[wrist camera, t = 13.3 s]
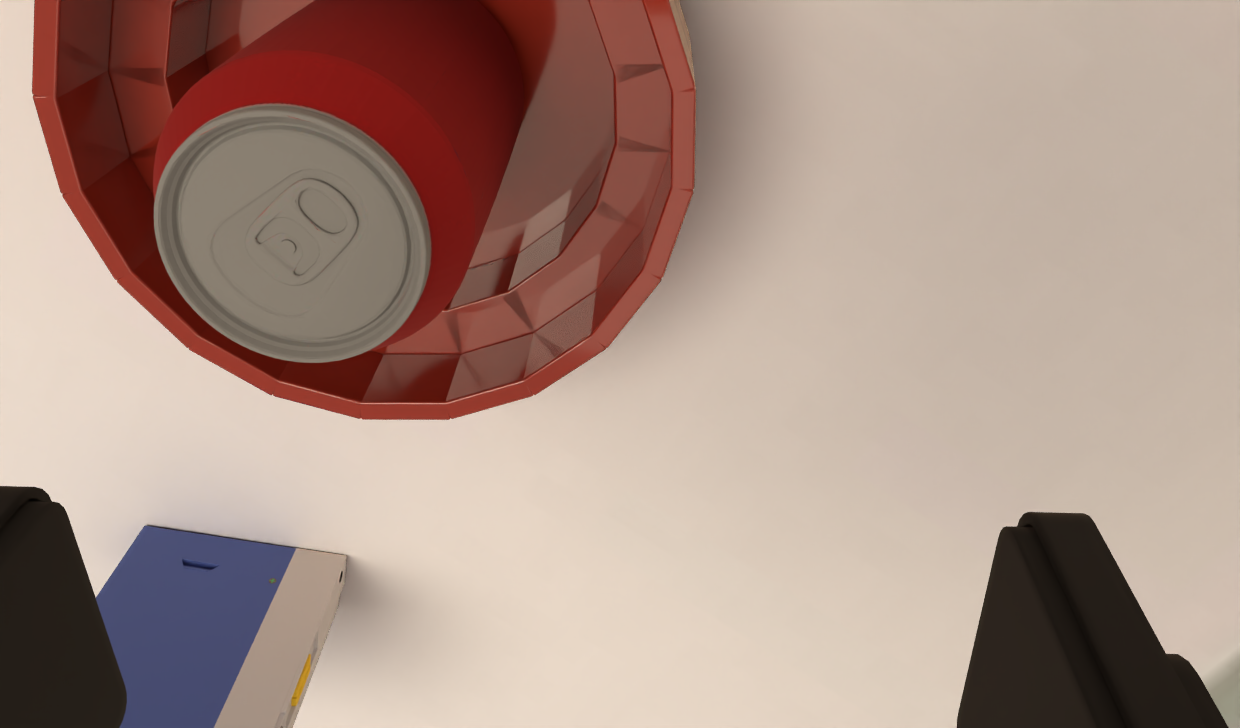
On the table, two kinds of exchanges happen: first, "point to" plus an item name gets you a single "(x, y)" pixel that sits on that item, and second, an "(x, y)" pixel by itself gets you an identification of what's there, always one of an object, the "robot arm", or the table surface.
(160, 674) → the walkman
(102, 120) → the bowl
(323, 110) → the beverage can
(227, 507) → the table surface
